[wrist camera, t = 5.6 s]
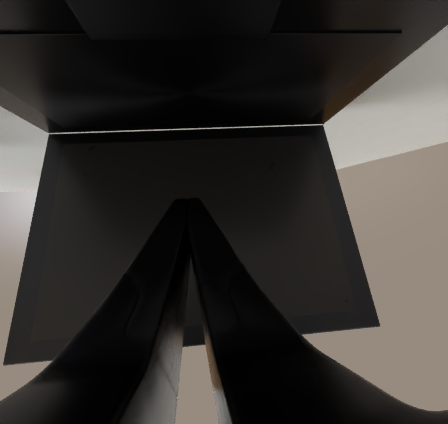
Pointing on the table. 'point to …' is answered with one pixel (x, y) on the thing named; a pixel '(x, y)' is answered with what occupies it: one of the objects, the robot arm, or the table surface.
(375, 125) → the table surface
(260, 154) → the laptop screen
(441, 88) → the table surface
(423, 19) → the laptop
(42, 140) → the table surface
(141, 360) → the robot arm
